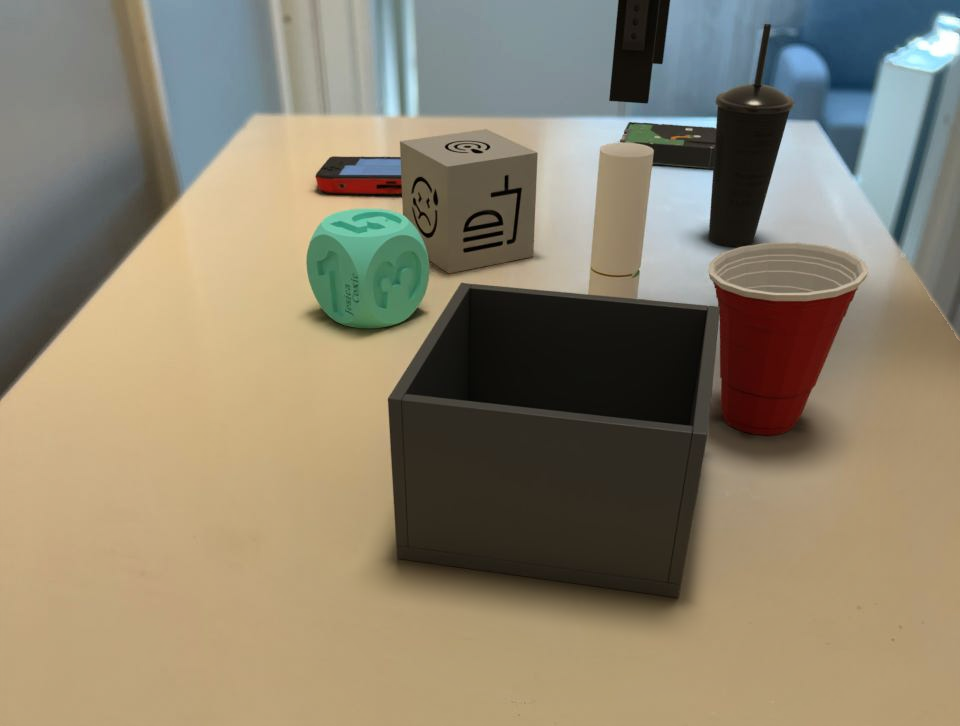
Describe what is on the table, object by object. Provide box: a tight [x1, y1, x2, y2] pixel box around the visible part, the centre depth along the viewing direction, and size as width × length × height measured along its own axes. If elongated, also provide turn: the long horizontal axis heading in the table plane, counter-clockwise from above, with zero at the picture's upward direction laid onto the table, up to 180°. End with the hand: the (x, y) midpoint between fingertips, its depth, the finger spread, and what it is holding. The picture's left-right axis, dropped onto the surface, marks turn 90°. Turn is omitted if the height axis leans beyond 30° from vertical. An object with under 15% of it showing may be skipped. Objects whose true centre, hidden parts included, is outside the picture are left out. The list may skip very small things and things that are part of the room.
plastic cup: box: [708, 242, 869, 436], centre depth 73 cm, size 11×11×12 cm
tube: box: [587, 142, 654, 299], centre depth 84 cm, size 4×4×15 cm
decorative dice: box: [305, 207, 430, 329], centre depth 89 cm, size 8×8×8 cm
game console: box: [315, 155, 402, 195], centre depth 121 cm, size 14×13×2 cm
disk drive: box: [619, 121, 716, 170], centre depth 131 cm, size 10×3×15 cm
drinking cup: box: [708, 23, 795, 248], centre depth 101 cm, size 8×8×20 cm
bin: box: [387, 282, 720, 599], centre depth 64 cm, size 18×18×11 cm
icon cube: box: [399, 128, 539, 275], centre depth 101 cm, size 10×10×10 cm
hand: (637, 81), depth 75 cm, fingers open, 13 cm apart
